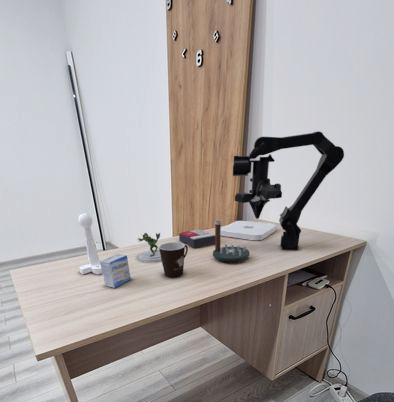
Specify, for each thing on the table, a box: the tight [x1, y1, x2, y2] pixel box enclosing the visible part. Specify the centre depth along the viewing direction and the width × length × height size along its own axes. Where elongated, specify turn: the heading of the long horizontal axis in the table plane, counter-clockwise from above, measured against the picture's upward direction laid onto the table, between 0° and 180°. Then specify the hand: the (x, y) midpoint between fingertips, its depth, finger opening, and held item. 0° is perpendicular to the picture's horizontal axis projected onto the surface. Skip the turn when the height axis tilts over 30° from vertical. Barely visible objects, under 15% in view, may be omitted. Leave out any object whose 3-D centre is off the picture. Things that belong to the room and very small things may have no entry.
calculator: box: [178, 229, 215, 249], centre depth 135 cm, size 11×4×15 cm
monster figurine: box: [136, 232, 162, 263], centre depth 118 cm, size 12×12×10 cm
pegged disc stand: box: [212, 220, 251, 261], centre depth 112 cm, size 14×14×12 cm
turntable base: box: [217, 259, 245, 264], centre depth 116 cm, size 10×10×1 cm
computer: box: [220, 220, 277, 241], centre depth 145 cm, size 22×22×3 cm
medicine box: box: [99, 253, 132, 289], centre depth 97 cm, size 8×4×9 cm, turn 148°
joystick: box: [77, 213, 103, 275], centre depth 104 cm, size 11×8×20 cm
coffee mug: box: [158, 241, 189, 279], centre depth 102 cm, size 12×9×10 cm
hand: (257, 218), depth 120 cm, fingers closed
